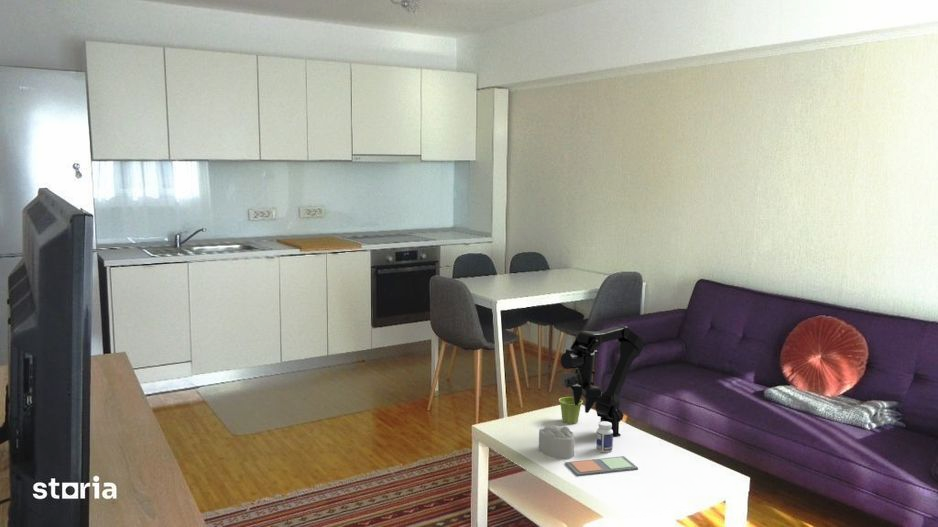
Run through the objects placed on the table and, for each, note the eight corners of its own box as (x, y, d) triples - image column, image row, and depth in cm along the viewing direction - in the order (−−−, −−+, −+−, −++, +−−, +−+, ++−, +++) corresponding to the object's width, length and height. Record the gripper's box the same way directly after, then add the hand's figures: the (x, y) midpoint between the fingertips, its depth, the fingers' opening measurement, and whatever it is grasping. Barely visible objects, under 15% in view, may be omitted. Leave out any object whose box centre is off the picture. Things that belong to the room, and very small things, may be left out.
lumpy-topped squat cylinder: (556, 443, 260) (557, 420, 259) (581, 455, 249) (582, 431, 248) (534, 449, 254) (535, 426, 253) (558, 462, 243) (559, 437, 242)
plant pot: (557, 416, 288) (558, 396, 287) (581, 418, 287) (582, 397, 286) (558, 425, 279) (559, 403, 278) (582, 426, 278) (583, 404, 277)
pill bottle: (613, 448, 256) (614, 421, 255) (611, 454, 251) (612, 426, 249) (597, 446, 258) (598, 419, 257) (594, 451, 253) (595, 424, 251)
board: (623, 457, 248) (623, 455, 248) (638, 469, 238) (638, 467, 238) (565, 463, 242) (565, 461, 242) (577, 476, 232) (577, 473, 232)
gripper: (554, 360, 264) (551, 401, 266) (575, 372, 247) (571, 416, 248) (582, 360, 267) (578, 401, 269) (604, 373, 250) (600, 416, 251)
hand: (581, 408), depth 259 cm, fingers open, 9 cm apart
